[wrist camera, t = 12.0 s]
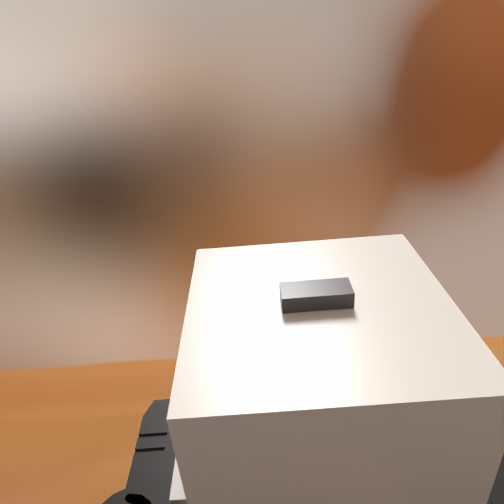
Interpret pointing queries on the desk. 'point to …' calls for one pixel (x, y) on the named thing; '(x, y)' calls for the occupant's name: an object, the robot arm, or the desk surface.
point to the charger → (331, 380)
